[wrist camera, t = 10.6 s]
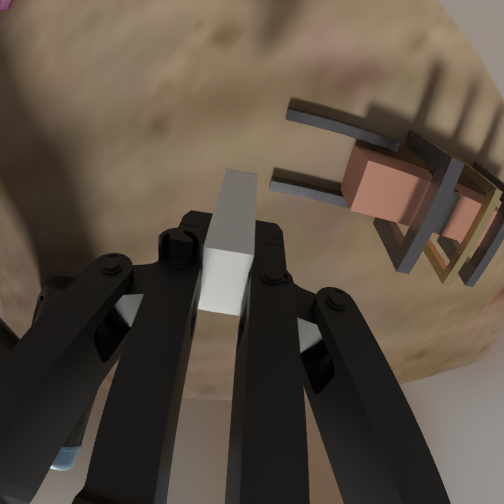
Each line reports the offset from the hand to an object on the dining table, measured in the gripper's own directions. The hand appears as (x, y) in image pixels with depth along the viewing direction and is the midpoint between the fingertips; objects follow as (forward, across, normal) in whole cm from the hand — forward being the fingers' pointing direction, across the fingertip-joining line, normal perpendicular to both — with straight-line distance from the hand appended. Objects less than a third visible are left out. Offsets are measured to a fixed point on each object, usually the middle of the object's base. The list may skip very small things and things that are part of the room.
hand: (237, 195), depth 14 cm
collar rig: (+8, +12, +1) cm, 15 cm away
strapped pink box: (+9, +16, 0) cm, 18 cm away
